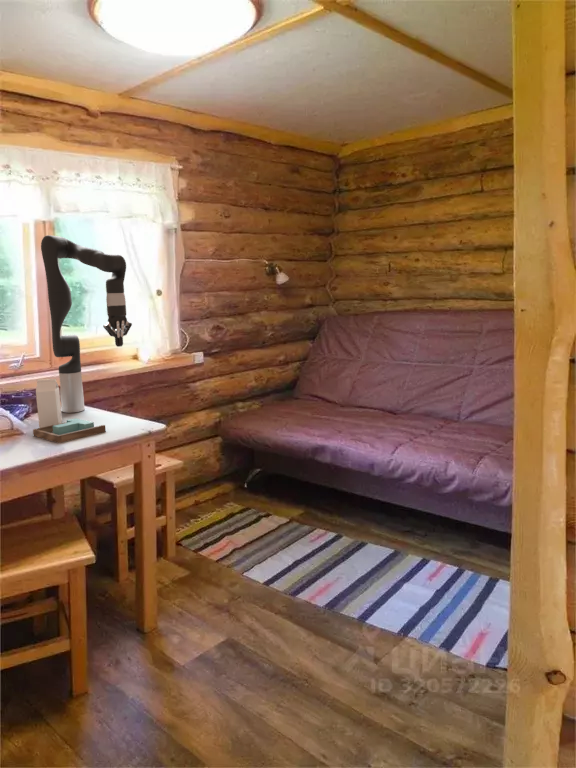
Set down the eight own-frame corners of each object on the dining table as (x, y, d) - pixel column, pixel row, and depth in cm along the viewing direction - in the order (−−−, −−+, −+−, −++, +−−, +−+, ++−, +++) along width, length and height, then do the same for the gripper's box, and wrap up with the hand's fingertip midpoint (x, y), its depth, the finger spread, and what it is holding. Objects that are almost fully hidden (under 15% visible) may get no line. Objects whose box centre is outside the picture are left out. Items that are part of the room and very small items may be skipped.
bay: (33, 436, 223) (32, 429, 222) (79, 425, 237) (79, 419, 237) (58, 443, 212) (58, 436, 211) (105, 431, 226) (105, 425, 226)
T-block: (47, 434, 224) (46, 424, 223) (76, 428, 233) (75, 418, 232) (65, 439, 216) (64, 428, 216) (94, 432, 226) (93, 422, 225)
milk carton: (58, 428, 233) (54, 380, 229) (39, 430, 232) (34, 381, 228) (62, 424, 240) (58, 377, 236) (43, 425, 239) (39, 378, 235)
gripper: (124, 303, 254) (127, 344, 257) (96, 305, 244) (100, 347, 247) (135, 303, 249) (138, 345, 252) (107, 305, 239) (111, 348, 242)
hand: (119, 346), depth 250 cm, fingers closed
